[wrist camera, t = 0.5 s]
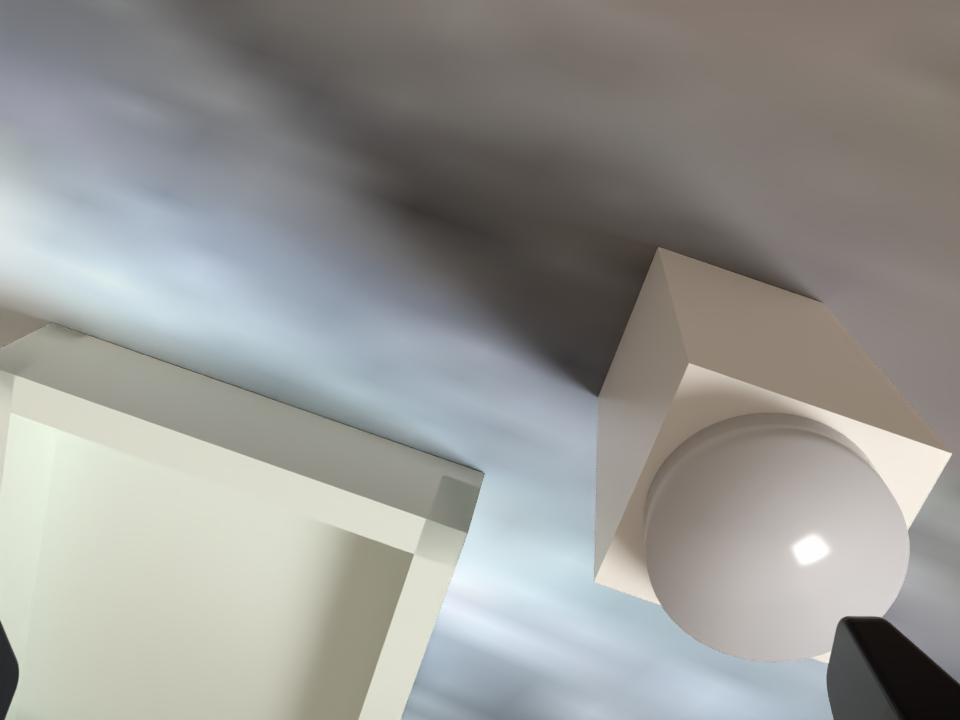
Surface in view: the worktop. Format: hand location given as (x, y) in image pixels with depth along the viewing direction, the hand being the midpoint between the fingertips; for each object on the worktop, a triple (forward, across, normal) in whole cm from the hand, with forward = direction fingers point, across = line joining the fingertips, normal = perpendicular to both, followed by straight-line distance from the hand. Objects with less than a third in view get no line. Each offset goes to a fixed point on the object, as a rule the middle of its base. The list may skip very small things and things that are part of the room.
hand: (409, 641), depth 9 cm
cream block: (+12, -6, +3) cm, 13 cm away
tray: (+12, +8, +11) cm, 18 cm away
